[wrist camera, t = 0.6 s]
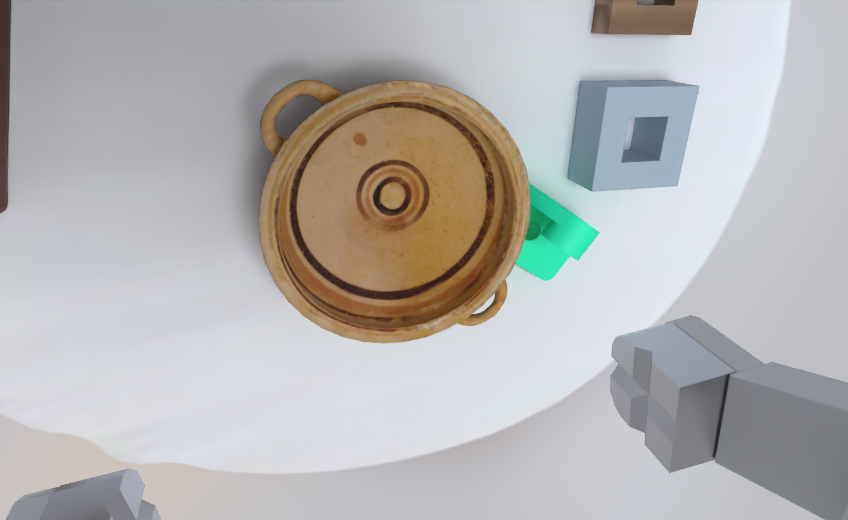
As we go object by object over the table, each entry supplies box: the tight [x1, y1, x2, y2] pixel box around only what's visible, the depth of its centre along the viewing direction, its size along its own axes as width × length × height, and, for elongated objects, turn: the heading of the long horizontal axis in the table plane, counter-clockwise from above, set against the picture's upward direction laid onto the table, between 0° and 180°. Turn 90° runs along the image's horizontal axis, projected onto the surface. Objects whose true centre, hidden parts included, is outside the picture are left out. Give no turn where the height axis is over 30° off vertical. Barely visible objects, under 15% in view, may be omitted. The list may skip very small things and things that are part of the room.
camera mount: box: [515, 184, 599, 281], centre depth 55 cm, size 12×8×10 cm, turn 54°
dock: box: [568, 80, 699, 192], centre depth 56 cm, size 10×10×5 cm
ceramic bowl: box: [259, 80, 530, 343], centre depth 51 cm, size 30×24×8 cm
